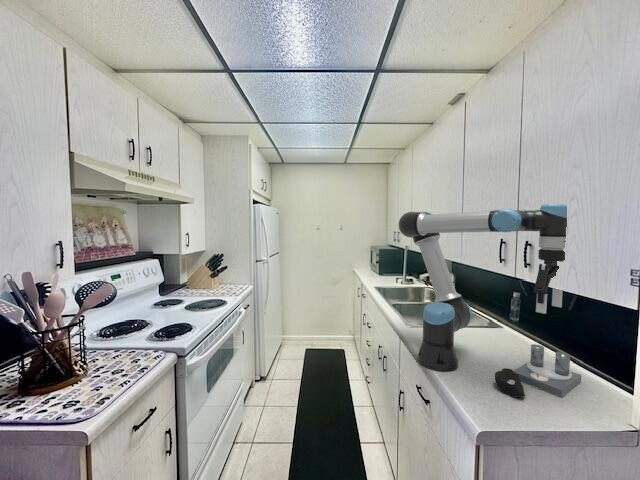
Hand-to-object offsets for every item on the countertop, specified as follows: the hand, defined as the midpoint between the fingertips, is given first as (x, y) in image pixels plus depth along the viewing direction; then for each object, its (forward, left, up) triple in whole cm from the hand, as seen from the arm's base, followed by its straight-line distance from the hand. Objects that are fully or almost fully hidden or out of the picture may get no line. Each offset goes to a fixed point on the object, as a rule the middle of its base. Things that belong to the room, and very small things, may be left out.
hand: (549, 309), depth 105 cm
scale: (+3, +1, -27) cm, 27 cm away
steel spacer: (+5, -3, -23) cm, 24 cm away
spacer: (+5, +5, -23) cm, 24 cm away
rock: (-15, +5, -27) cm, 31 cm away
